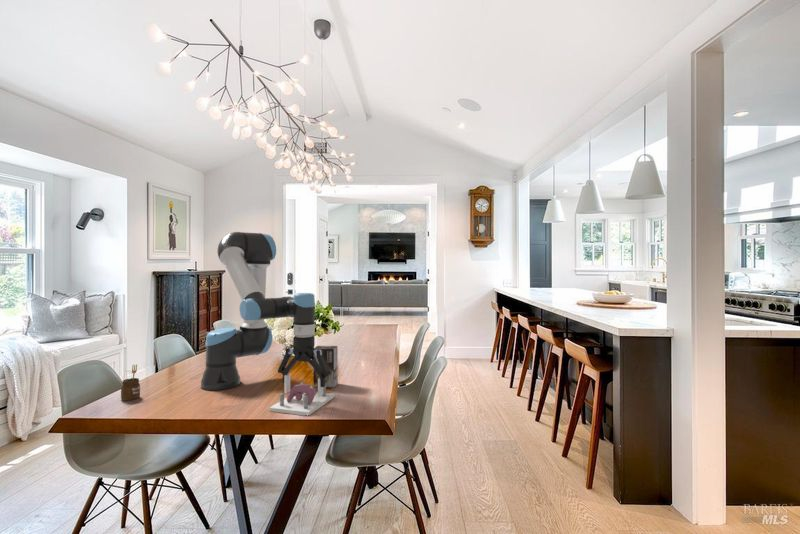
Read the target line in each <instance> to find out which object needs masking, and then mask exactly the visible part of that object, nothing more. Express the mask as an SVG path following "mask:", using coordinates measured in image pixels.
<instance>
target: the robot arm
mask: <svg viewBox="0 0 800 534" xmlns="http://www.w3.org/2000/svg"><path fill="white" fill-rule="evenodd" d="M276 255H277V246H276V241H275V239H274V238H273V236H271V235H270V234H267V233H261V232H259V233H257V232H245V231H244V232H243V231H242V232H241V231H233V232H230V233H228V234H226V235H225V236H223V238H221V240H220V241H219V243H218V245H217V257H218V259H219V261H220V263H221V264H222V265H225V267H226V269H227V271H228V273H229V275H230V278H231V280H232V282H233V284H234V286H235V288H236V290H237V292H238V295H239V298H240V299H241V301H240V305H239V315H240V317H241V319H242V320H243V321H242V322H241V323H240V324H239V329H238V330H237V328H236V327H234V326H231V327H221V328H217V329H214V330H211V331H209V332H207V334H206V336H205V343H204V344H205V367H204V368H205V369H204V372H203V374H202V379H200V380H201V381H200V388H201V389H203V390H205V391H207V390H208V391H218V390H221V391H222V390H227V389H231V388H235V387H237V386H239V385H240V384H241V377H240V374H239V371H238V367H237V358H242V357H243V358H244V357H249V356H250V357H251V356H259V355H261V354H265V353H267V352H268V351H269V350H270V349H271V346H272V343H273V332H272V329H271V328H270V327H269V325H268V323H267V322H266V321H265V320H268V319H269V320H270V319H271V320H272V319H282V318H293V337H292V338H293V341H292V342H293V343H292V344H293V347H292V346H290V347H287V348H285V353H284V356H283V358H282V359H281V360H282V361H281V363H280V365H279V367H278V369H277V373H278V374H282V384H284V385H283V386H284V387H283V388H284V394H289V393H290V391H291V373H290V371H291V370H292V368H294V366H295V365H296V364H297V362H303V363H304V362H305V363H307V362H308V364H309V365H311V367H312V368H314V370H315V371H316V372H317V374H318V375H319V377H320V378H318V387H317V392H318V397H320V396H322V395H323V387H324V386H325V378H326V377H328V376H329V375H330V374H331V373H330V371H329V368H328V366H327V364H326V361H325V359H324V357H323V351H322V349H320V350H315V349H314V348H315V343H316V341H315V338H316V337H315V333H316V332H315V330H316V327H315V326H316V323H315V322H316V321H315V318H316V314H315V313H316V302H315V301H316V300H315V294H314V293H311V292H298V293H294V295H293V297H292V296H282V297H268V298H266V292H267V291H266V289H267V288H266V286H267V268H268V267H269V266H270V265H271V261H273V260H274V259H275V258H276ZM292 354H294V356H293V358H292V359H291V360H290V358H291V356H292ZM314 354H315V356H317V359H318V362H319V364H320V365H319V364H318V362H317V361H316V358H315V357H314V356H313V355H314ZM289 360H290V362H289ZM320 366H321V367H320Z"/></svg>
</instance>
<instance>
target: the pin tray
mask: <svg viewBox="0 0 800 534" xmlns="http://www.w3.org/2000/svg"><path fill="white" fill-rule="evenodd" d="M300 384H305V382H300V383H299V385H300ZM305 394H306V393H302V396H304V395H305ZM334 398H335V393H330V392H329V393H328V392H327V387H326V385H325V386H324V387H323V395H322V396H320V397H318V391H316V395H315V396H314V399H313V401H312V403H311V404H309V405H308V396H304V400H303V397H302V399H301V400H296V397H295V396H294V398H293V399H292V400H291V401H290V402H287V397H285V393H283V392H281V393H279V402H277V403H274V404H273V405H271V406H270V407H269V409H268V410H269V412H273V413H275V412H276V413H280V414H281V413H283V414H291V415H299V416H305V415H307V417H308V415H309V416H310V415H311V414H313V413H314V412H316V411H317V410H318V409H320V408H321V407H323V406H324V405H326V404H327V403H329V402H330V401H331V400H332V399H334Z"/></svg>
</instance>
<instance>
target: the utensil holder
mask: <svg viewBox="0 0 800 534" xmlns="http://www.w3.org/2000/svg"><path fill="white" fill-rule="evenodd" d="M131 368H132V369H131V371H130V370H126V371H124V373H125V377H128V374H127V373H129V378H124V379H123V380H122V382H121V384H122V386H121V388H120V399H121V401H124V402H126V401H134V400H137V399H140V396H141V385H140V384H141V383H140V379H139V378H138V377H135V374H137V371H138V364H132V366H131ZM130 373H131V374H130ZM130 375H131V376H130Z"/></svg>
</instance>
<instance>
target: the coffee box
mask: <svg viewBox="0 0 800 534" xmlns="http://www.w3.org/2000/svg"><path fill="white" fill-rule="evenodd" d="M314 349H315V350H320V349H322V351H323V357H324V359H325V361H326V364H327V366H328V368H329V371H330V373H331V374H330V375H329V376H328V377H326V378H325V385H326V388H335V387H336V386H337V385H338V382H339V381H338V379H339V378H338V376H339V375H338V369H339V368H338V366H339V365H338V345H317V346H314ZM313 356H314V357H315V358H316V361H317V362H318V359H317V356H315V354H314V355H313ZM318 364H319V362H318ZM319 365H320V364H319ZM320 367H321V366H320ZM312 368H313V367H312ZM312 370H313V373H312V374H313V377H312V379H313V381H312V382H313V383H312V385H313V386H312V387H313V388H318V378H320V377H319V375H318V374H317V372H316V371H315V370H314V368H313V369H312Z"/></svg>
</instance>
